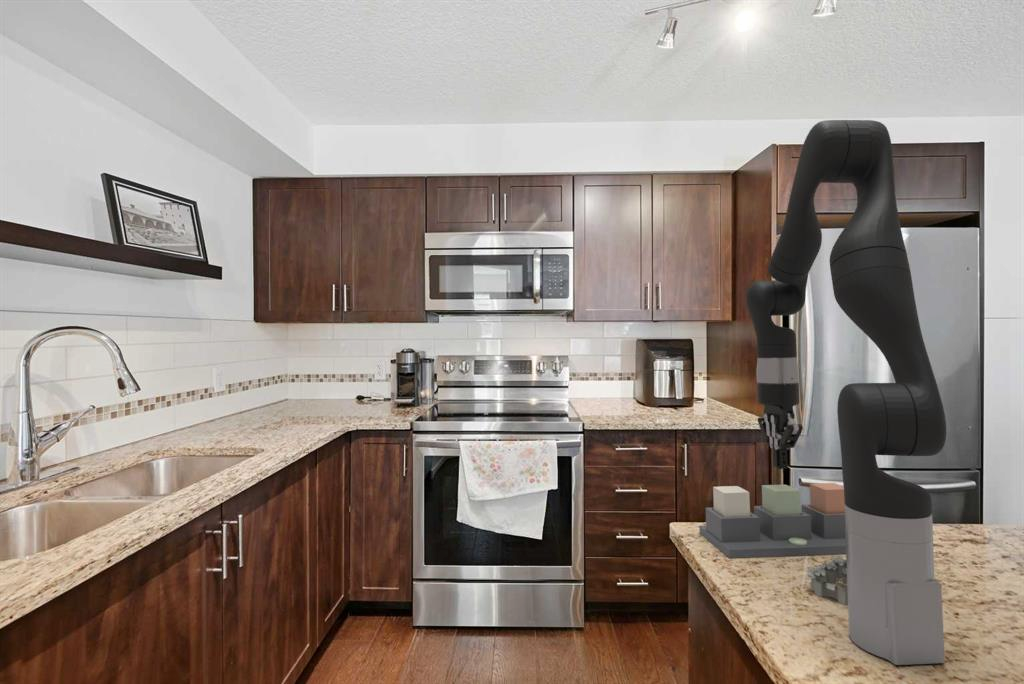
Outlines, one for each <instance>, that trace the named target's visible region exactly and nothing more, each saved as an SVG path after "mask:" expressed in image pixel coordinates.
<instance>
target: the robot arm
mask: <svg viewBox="0 0 1024 684" xmlns="http://www.w3.org/2000/svg"><path fill="white" fill-rule="evenodd" d="M892 147H893V145H892V141H891V137H890V132H889V130H888V128H887V126H886V125H885V124H884V123H882V122H880V121H877V120H872V119H871V120H870V119H864V120H863V119H829V120H821V121H819V122H817V123H816V124H814V125H813V126H812V128H810V130H809V131H808V133H807V136H806V137H805V140H804V142H803V145H802V148H801V150H800V153H799V157H798V162H797V166H796V170H795V174H794V177H793V183H792V185H791V189H790V195H789V199H788V200H789V201H788V204H787V209H786V214H785V218H784V222H783V225H782V229H781V231H780V235H779V238H778V239H777V243H776V245H775V247H774V250H773V252H772V254H771V257H770V260H769V262H768V267H767V270H768V271H767V272H768V274H769V275H770V276H771V278H772V280H757V281H754V282H753V283H751V284H750V285H749V287H748V289H746V290H747V291H746V293H745V304H746V307H747V311H748V313H749V316H750V318H751V321H752V325H753V330H754V333H755V336H756V350H757V351H756V353H757V354H756V355H757V359H756V360H757V361H756V393H757V395H756V398H757V399H756V400H757V403H758V405H761V406H764V408H763V416H759V417H757V423H758V425H759V428H760V431H761V434H762V436H763V438H764V441H765V443H766V444H769V447H770V449H772V466H773V468H775V469H778V470H786V469H787V468H788V467H789V465H788V464H789V463H788V461H789V460H788V450H790V449H794V448H795V446H796V444H797V442H798V440H799V438H800V436H801V434H802V431H803V429H804V427H803V425H802V424H800V423H799V424H797V423H796V420H795V419H796V418H795V417H796V416H795V412H794V406H797V405H799V404H800V402H801V401H800V376H799V370H800V369H799V364H798V358H797V356H798V355H797V351H798V350H797V336H796V331H795V330H793V328H789V327H784V326H780V325H777V324H775V322H774V321H773V319H772V316H792V315H795V314H797V313H798V312H800V311H801V310H802V309H803V307H804V305H805V303H806V297H807V296H806V292H807V284H808V277H809V273H810V271H811V270H812V267H813V265H814V262H815V260H816V258H817V256H818V254H819V252H820V250H821V246H822V242H823V241H822V240H823V233H822V228H821V224H820V222H819V218H818V215H817V212H816V208H815V195H816V191H817V189H818V187H819V186H820V184H823V183H826V184H831V183H832V184H833V183H834V184H852V185H854V187H855V190H856V196H857V197H856V198H857V203H856V207H855V210H854V212H853V214H852V216H851V217H850V219H849V221H848V223H847V224H846V225H845V227H844V228H843V230H842V231H841V232H840V234H839V236H838V237H837V239H836V241H835V242H834V244H833V246H832V248H831V251H830V255H829V267H830V268H829V269H830V275H831V281H832V283H831V284H832V289H833V297H834V299H835V301H836V303H837V304H838V306H839V308H840V309H841V310H842V311H843V313H844V314H845V315H846V316H847V317H848V318H849V320H851V321H852V322H853V323H854V325H855V326H857V327H858V329H860V330H861V331H862V332H863V333H864V334H865V335H866V336H867V337H868V338H869V339H870V340H871V341H872V342H873V343H874V345H876V347H878V349H879V351H880V352H881V354H882V355H883V356H884V358H885V360H886V361H887V364H888V366H889V368H890V370H891V372H892V373H891V374H892V376H893V379H894V381H895V382H867V383H866V382H857V383H848V384H846V385H844V386H843V388H842V389H841V390H840V392H839V395H838V399H837V400H838V401H837V412H836V413H837V424H838V425H837V426H838V433H839V443H840V454H841V456H840V457H841V471H842V475H841V476H842V484H843V485H842V486H843V487H844V503H845V535H846V554H845V555H846V556H845V557H846V559H845V560H846V563H847V591H848V605H847V608H848V613H847V614H848V633H849V634H848V635H849V638H850V640H852V642H853V643H854V644H855V645H856V646H858V647H859V648H860V649H862V650H864V651H865V652H868V653H870V654H872V655H874V656H877V657H880V658H882V659H885V660H887V661H889V662H891V663H892V664H893V665H896V666H904V665H905V666H906V665H907V666H908V665H926V664H930V665H932V664H945V662H946V661H945V640H944V617H943V613H944V611H943V592H942V591H943V590H942V584H941V582H940V581H938V580H936V579H935V577H936V576H935V575H936V574H935V558H934V556H935V554H934V553H935V552H934V529H933V525H934V523H933V500H932V495H931V493H930V492H929V491H928V490H927V489H926V488H925V487H923V486H921V485H919V484H916V483H913V482H911V481H909V480H908V481H907V480H905V479H901V478H898V477H895V476H892V475H891V474H889V473H887V472H886V471H883V470H882V469H881V468H879V466H878V462H877V456H895V457H896V456H897V457H901V456H902V457H930V456H931V457H932V456H935V455H938V454H939V453H940V452H941V451H942V450H943V448H944V447H945V444H946V439H947V423H946V420H947V419H946V414H945V410H944V409H945V408H944V406H943V400H942V398H941V394H940V393H941V392H940V390H939V387H938V383H937V380H936V377H935V374H934V370H933V367H932V365H931V361H930V358H929V355H928V352H927V347H926V344H925V342H924V338H923V334H922V333H923V332H922V330H921V325H920V319H919V314H918V310H917V302H916V298H915V291H914V286H913V278H912V277H913V276H912V273H911V267H910V263H909V258H908V253H907V249H906V246H905V241H904V236H903V233H902V227H901V222H900V217H899V210H898V205H897V197H896V188H895V186H896V185H895V173H894V160H893V159H894V158H893V156H894V155H893V149H892ZM773 279H774V280H773Z"/></svg>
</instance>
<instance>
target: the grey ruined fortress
mask: <svg viewBox="0 0 1024 684" xmlns="http://www.w3.org/2000/svg"><path fill="white" fill-rule="evenodd" d="M807 578H808V579H810V590H811V591H812V592H814V593H815V596H818V597H821V598H824V597H829V598H832V599H833V598H834V599H835V600H836V601H838V602H837V603H838V604H840V605H844V606H848V591H847V563H846V559H845V558H843V557H841V556H840V555H837V556H836V557H835V558H834V559H833V560H831V561H827V562H826V561H825V562H823V563H822V564H821V565H818V566H816V567H814V568H813V567H809V568H808V569H807ZM839 579H841V581H842V582H838V580H839Z"/></svg>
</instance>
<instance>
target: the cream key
mask: <svg viewBox="0 0 1024 684" xmlns="http://www.w3.org/2000/svg"><path fill="white" fill-rule="evenodd" d="M712 492H713V495H712V496H713V507H714V511H715V512H716V513H718V514H719V515H721V516H722V517H748V516H750V512H751V507H750V506H751V504H750V503H751V501H750V500H751V499H750V491H748V490H747V489H744V488H743V487H740V486H738V485H732V486H731V485H730V486H729V485H727V486H726V485H723V486H721V485H720V486H713V487H712Z"/></svg>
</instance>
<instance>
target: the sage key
mask: <svg viewBox="0 0 1024 684" xmlns="http://www.w3.org/2000/svg"><path fill="white" fill-rule="evenodd" d="M761 498H762V499H761V500H762V501H761V503H762V505H761V506H762V509H764V510H766V511H767V512H769V513H771V514H773V515H774V516H779V515H801V511H802V504H801V502H802V501H801V490H799V489H797V488H795V487H792V486H790V485H787V484H763V485H761Z"/></svg>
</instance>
